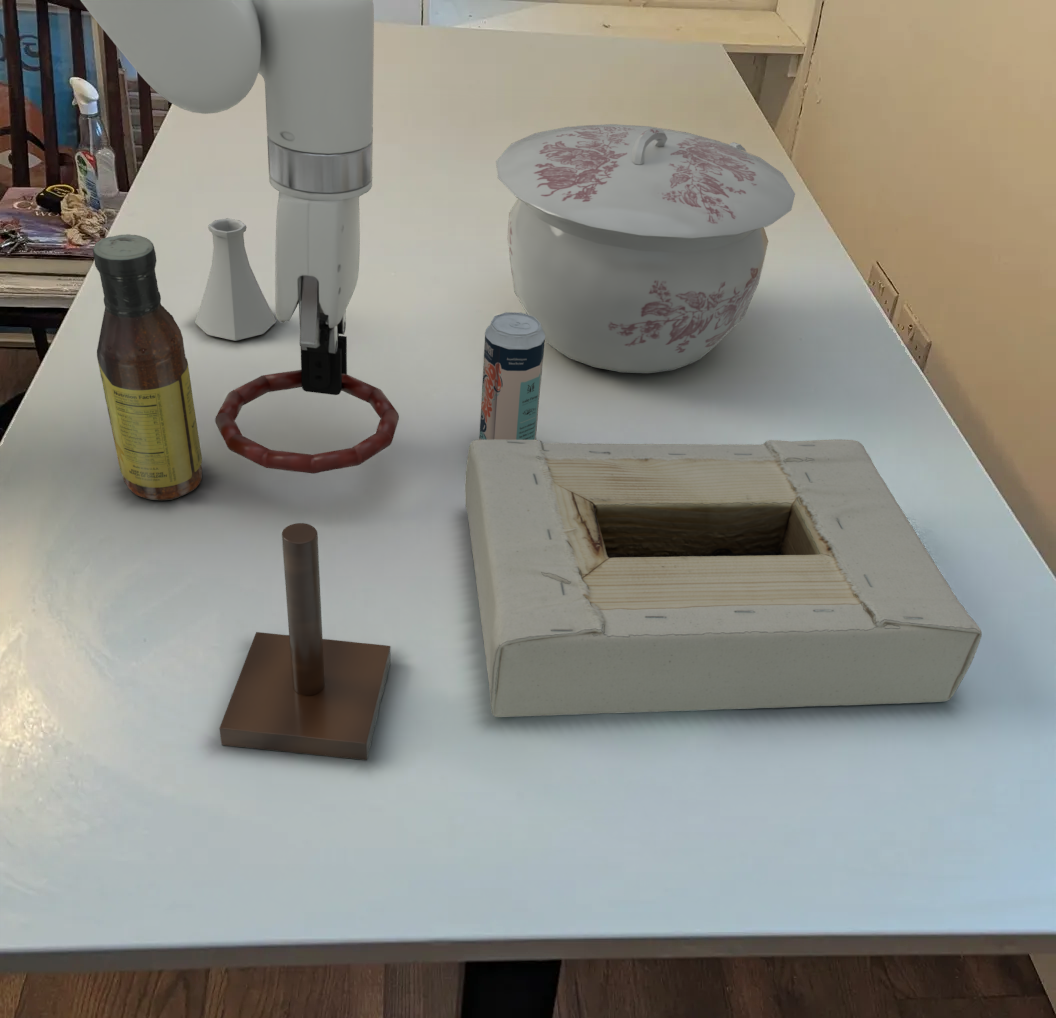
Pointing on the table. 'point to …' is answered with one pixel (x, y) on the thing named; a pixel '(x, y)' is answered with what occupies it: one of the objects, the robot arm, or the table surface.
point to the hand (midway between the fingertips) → (324, 384)
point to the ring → (300, 460)
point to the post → (306, 674)
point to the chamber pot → (637, 240)
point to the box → (703, 580)
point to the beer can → (511, 377)
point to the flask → (232, 288)
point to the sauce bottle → (145, 375)
